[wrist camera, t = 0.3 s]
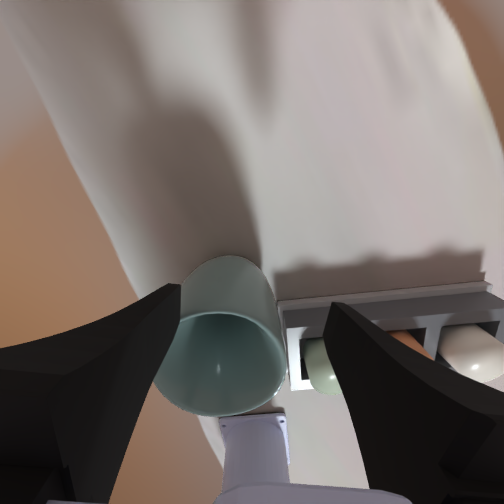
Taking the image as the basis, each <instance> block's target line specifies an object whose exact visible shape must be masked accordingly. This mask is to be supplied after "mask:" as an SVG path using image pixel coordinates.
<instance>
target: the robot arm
mask: <svg viewBox="0 0 504 504" xmlns="http://www.w3.org/2000/svg"><path fill="white" fill-rule="evenodd" d="M180 313H181V285H179V284H170V283H168V284H166V285H164V286H163V287H161V288H159V289H157V290H156V291H154V292H152V293H151V294H149V295H147V296H146V297H144V298H142V299H140V300H139V301H137V302H135V303H133V304H131V305H129V306H127V307H125V308H124V309H121V310H120V311H118V312H115V313H113V314H111V315H109V316H106V317H104V318H102V319H99V320H97V321H94V322H92V323H89V324H86V325H84V326H80V327H77V328H75V329H72V330H69V331H66V332H63V333H60V334H56V335H53V336H50V337H46V338H42V339H39V340H35V341H31V342H27V343H23V344H19V345H14V346H10V347H5V348H0V504H108V503H109V499H110V496H111V493H112V490H113V487H114V484H115V481H116V478H117V475H118V472H119V469H120V467H121V464H122V461H123V458H124V455H125V452H126V449H127V446H128V444H129V441H130V438H131V435H132V433H133V430H134V427H135V425H136V422H137V419H138V417H139V414H140V411H141V409H142V406H143V403H144V401H145V398H146V396H147V393H148V390H149V388H150V386H151V384H152V382H153V380H154V378H155V376H156V374H157V372H158V370H159V368H160V366H161V364H162V362H163V360H164V358H165V356H166V354H167V352H168V350H169V348H170V346H171V344H172V342H173V340H174V337H175V334H176V332H177V329H178V326H179V323H180ZM322 336H323V340H324V344H325V348H326V352H327V355H328V358H329V360H330V363H331V366H332V368H333V371H334V373H335V376H336V378H337V381H338V383H339V385H340V388H341V390H342V393H343V395H344V398H345V401H346V403H347V406H348V409H349V412H350V416H351V419H352V422H353V426H354V429H355V433H356V436H357V440H358V444H359V447H360V451H361V455H362V459H363V463H364V467H365V471H366V475H367V479H368V483H369V488H370V489H360V488H346V487H333V486H320V485H306V484H293V483H290V479H289V471H288V465H289V464H290V456H289V445H288V434H287V423H286V415H285V414H284V413H272V414H259V415H246V416H234V417H222V418H220V420H219V425H220V429H221V433H222V437H223V441H224V446H225V461H224V472H223V483H222V493H221V494H220V495H219V496H218V497H217V498H216V499H215V501H214V502H213V504H504V392H501V391H499V390H496V389H494V388H492V387H489V386H487V385H485V384H482V383H480V382H478V381H475V380H473V379H471V378H468V377H466V376H464V375H462V374H460V373H458V372H455V371H453V370H451V369H449V368H447V367H445V366H443V365H441V364H439V363H437V362H435V361H434V360H432V359H430V358H428V357H426V356H424V355H423V354H421V353H419V352H417V351H416V350H414V349H412V348H410V347H409V346H407V345H405V344H404V343H402V342H401V341H399V340H397V339H396V338H394V337H393V336H391V335H390V334H388V333H387V332H385V331H384V330H382V329H381V328H380V327H378V326H377V325H375V324H374V323H373V322H371V321H370V320H368V319H367V318H366V317H364V316H363V315H361V314H360V313H359V312H357V311H356V310H354V309H353V308H352V307H350V306H348V305H347V304H345V303H341V302H332V303H331V306H330V310H329V313H328V317H327V321H326V324H325V328H324V331H323V335H322Z"/></svg>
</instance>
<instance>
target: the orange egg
mask: <svg viewBox="0 0 504 504" xmlns="http://www.w3.org/2000/svg"><path fill="white" fill-rule="evenodd" d="M385 332H387V333H388V334H390V335H391V336H393V337H394V338H396V339H397V340H399V341H401V342H402V343H404V344H405V345H407V346H409V347H410V348H412V349H414V350H416V351H417V352H419V353H421V354H423V355H424V356H426V357H428V358H430V359H432V360H434V359H433V358H432V357H431V356H430V355H429V354H428V352H427V351H426V350H425V349H424V348H423V347H422V346H421V345H420V344H419V343H418V342H417V341H416V340H415V339H414V337H413V336H412V335H411V334H410V333H409V332H408V331H407V330H406V329H402V330H391V331H385Z"/></svg>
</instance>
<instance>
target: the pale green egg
mask: <svg viewBox="0 0 504 504" xmlns="http://www.w3.org/2000/svg"><path fill="white" fill-rule="evenodd" d="M302 353H303V357H304V361H305V365H306V368H307V372H308V376H309V380H310V383H311V385H312V387H313V388H314V389H315V390H316V391H318V392H320V393H323V394H327V395H336V394H341V393H342V390H341V388H340V385H339V383H338V381H337V378H336V376H335V373H334V371H333V368H332V366H331V363H330V360H329V358H328V355H327V352H326V348H325V344H324V340H323V337H315V338H309V339H308V340H307V341H306V342H305V344H304V345H303V349H302Z"/></svg>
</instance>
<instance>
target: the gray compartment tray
mask: <svg viewBox="0 0 504 504" xmlns="http://www.w3.org/2000/svg"><path fill="white" fill-rule="evenodd" d="M492 286H493V285H492V284H490V283H488V282H486V281H478V282H468V283H458V284H448V285H438V286H427V287H417V288H407V289H397V290H386V291H376V292H366V293H356V294H346V295H335V296H325V297H315V298H305V299H295V300H284V301H277V305H278V313H279V317H280V322H281V327H282V332H283V337H284V342H285V348H286V357H287V371H286V373H288V375H289V381H290V387H291V391H292V390H304V389H314V388H313V387H312V385H311V383H310V380H309V376H308V372H307V368H306V365H305V361H304V357H303V353H302V349H303V345H304V344H305V342H306V341H307V340H308V339H309V338H315V337H323V336H322V335H323V331H324V328H325V324H326V321H327V317H328V313H329V310H330V306H331V303H332V302H341V303H345V304H347V305H348V306H350V307H352V308H353V309H354V310H356V311H357V312H359V313H360V314H361V315H363V316H364V317H366V318H367V319H368V320H370V321H371V322H373V323H374V324H375V325H377V326H378V327H380V328H381V329H382V330H384V331H391V330H402V329H406V330H407V331H408V332H409V333H410V334H411V335H412V336H413V337H414V339H415V340H416V341H417V342H418V343H419V344H420V345H421V346H422V347H423V348H424V349H425V350H426V351H427V352H428V354H429V355H430V356H431V357H432V358H433V359H434V361H435V362H437V363H439V364H441V365H443V366H445V367H447V368H449V369H451V370H453V371H455V372H457V371H456V370H455V369H454V368H453V367H452V366H451V365H450V364H449V363H448V362H447V361H446V360H445V359H444V358H443V357H442V356H441V355H440V354H439V353H438V352H437V351H436V350H437V345H438V340H439V335H440V330H441V328H442V327H443V326H446V325H457V324H468V323H475V324H476V325H477V326H479V327H480V328H482V329H483V330H484V331H486V332H487V333H489V334H490V335H491V336H493V337H494V338H496V339H497V340H498V341H500V342H501V343H503V344H504V300H502V299H501V298H499V297H497V296H495V295H493V294H491V290H492Z"/></svg>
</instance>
